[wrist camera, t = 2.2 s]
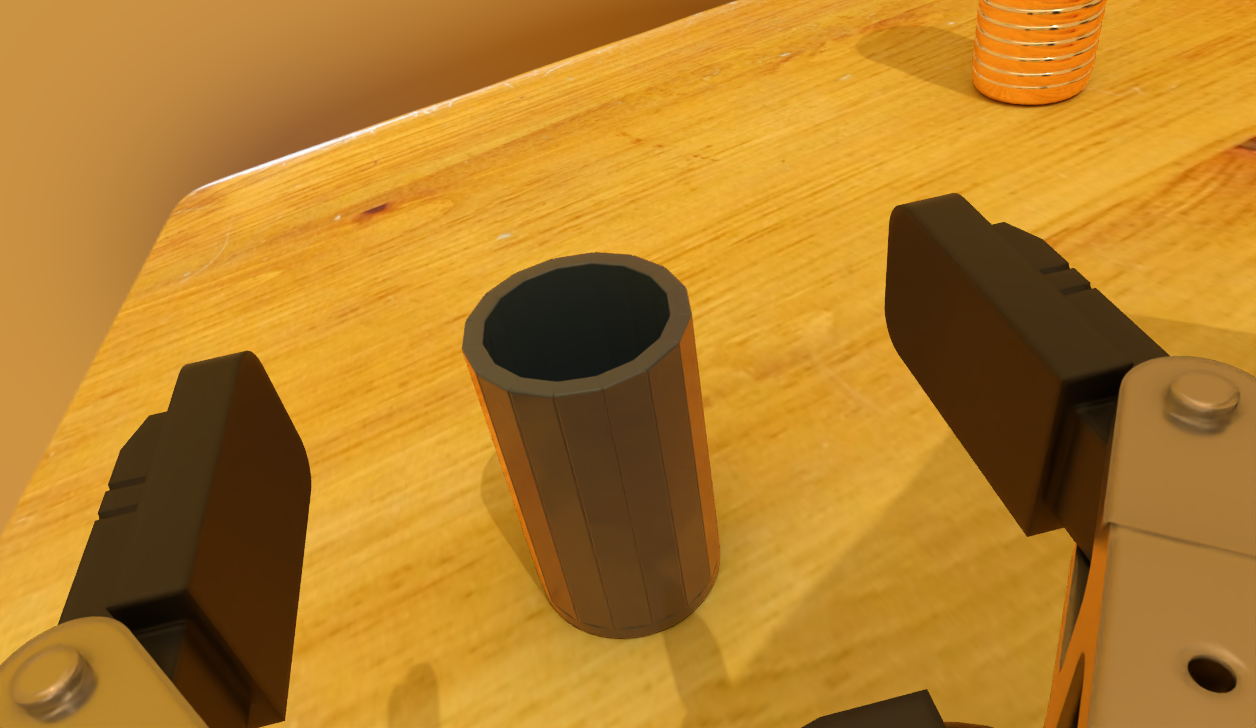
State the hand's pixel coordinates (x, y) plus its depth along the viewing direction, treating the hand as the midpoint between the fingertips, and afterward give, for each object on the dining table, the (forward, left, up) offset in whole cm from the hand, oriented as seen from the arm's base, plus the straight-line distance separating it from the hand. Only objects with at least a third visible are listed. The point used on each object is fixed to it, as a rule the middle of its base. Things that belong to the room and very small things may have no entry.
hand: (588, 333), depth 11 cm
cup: (-3, -11, -19) cm, 22 cm away
